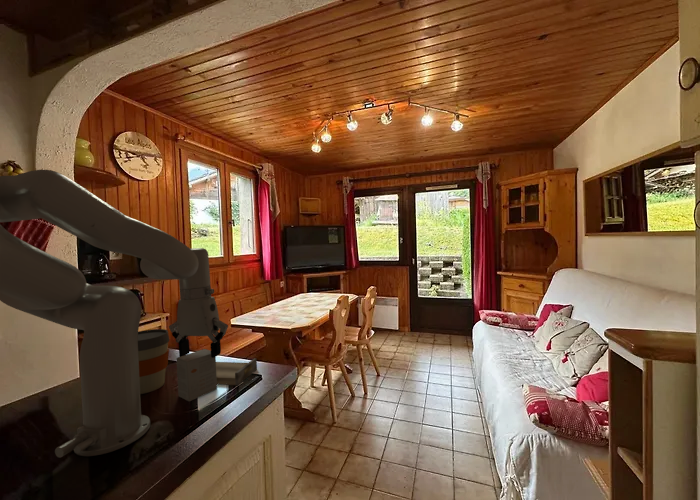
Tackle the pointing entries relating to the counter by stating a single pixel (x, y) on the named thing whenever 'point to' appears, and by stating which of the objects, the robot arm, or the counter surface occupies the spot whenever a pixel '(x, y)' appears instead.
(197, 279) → the robot arm
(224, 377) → the shelf board
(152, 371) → the reusable coffee cup
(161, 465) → the counter surface
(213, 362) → the small box
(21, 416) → the counter surface
